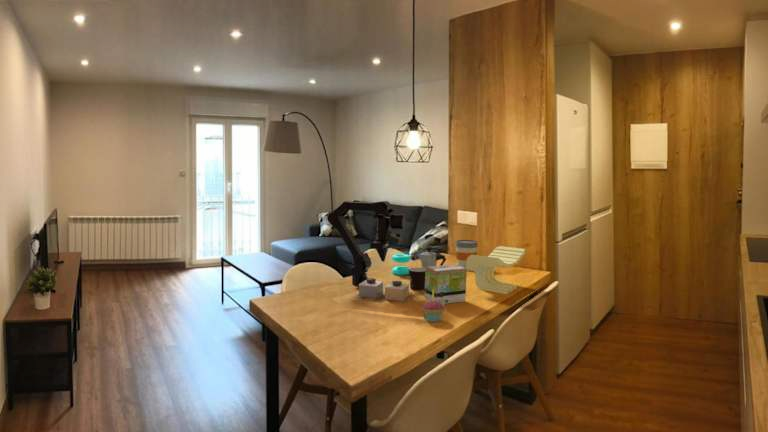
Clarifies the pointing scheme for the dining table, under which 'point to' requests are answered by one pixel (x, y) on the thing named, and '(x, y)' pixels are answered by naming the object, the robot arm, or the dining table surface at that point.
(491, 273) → the slatted curved stool
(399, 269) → the donuts
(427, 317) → the cupcake
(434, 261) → the coffee maker
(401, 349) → the dining table surface
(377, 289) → the grey block
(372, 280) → the inner press plunger
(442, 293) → the tea box
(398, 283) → the outer press plunger
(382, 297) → the serving board
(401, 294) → the block
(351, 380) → the dining table surface
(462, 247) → the reusable coffee cup
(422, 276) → the coffee mug
